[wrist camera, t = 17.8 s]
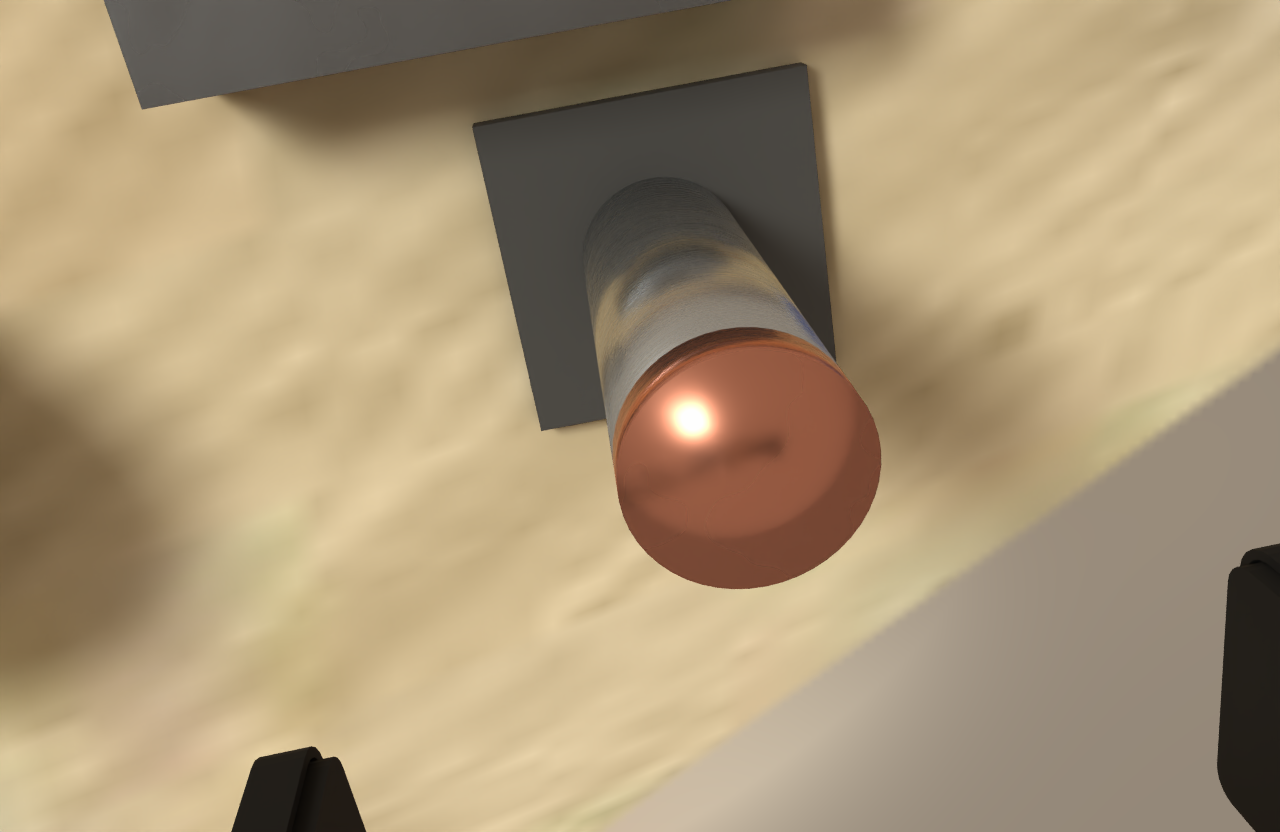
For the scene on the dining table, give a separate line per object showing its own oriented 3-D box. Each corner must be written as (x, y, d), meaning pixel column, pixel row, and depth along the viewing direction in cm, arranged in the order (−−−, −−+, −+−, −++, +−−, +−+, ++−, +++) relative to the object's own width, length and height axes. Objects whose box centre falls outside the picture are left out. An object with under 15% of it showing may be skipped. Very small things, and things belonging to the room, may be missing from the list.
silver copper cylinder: (730, 162, 26) (870, 326, 16) (750, 316, 28) (890, 561, 17) (568, 194, 26) (594, 379, 15) (598, 346, 28) (641, 610, 17)
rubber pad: (832, 366, 30) (837, 374, 29) (541, 421, 29) (541, 430, 29) (801, 62, 26) (806, 65, 26) (473, 123, 26) (472, 127, 26)
